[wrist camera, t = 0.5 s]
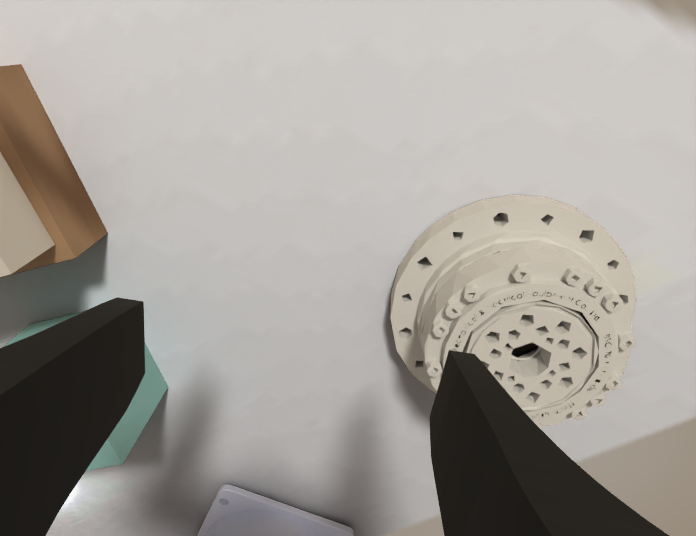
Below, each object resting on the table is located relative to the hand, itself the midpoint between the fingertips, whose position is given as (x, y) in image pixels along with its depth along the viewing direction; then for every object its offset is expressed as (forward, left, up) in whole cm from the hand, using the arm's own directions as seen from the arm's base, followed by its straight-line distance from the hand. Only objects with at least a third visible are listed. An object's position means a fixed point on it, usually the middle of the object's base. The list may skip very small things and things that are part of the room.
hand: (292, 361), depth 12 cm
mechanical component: (0, -8, -10) cm, 13 cm away
